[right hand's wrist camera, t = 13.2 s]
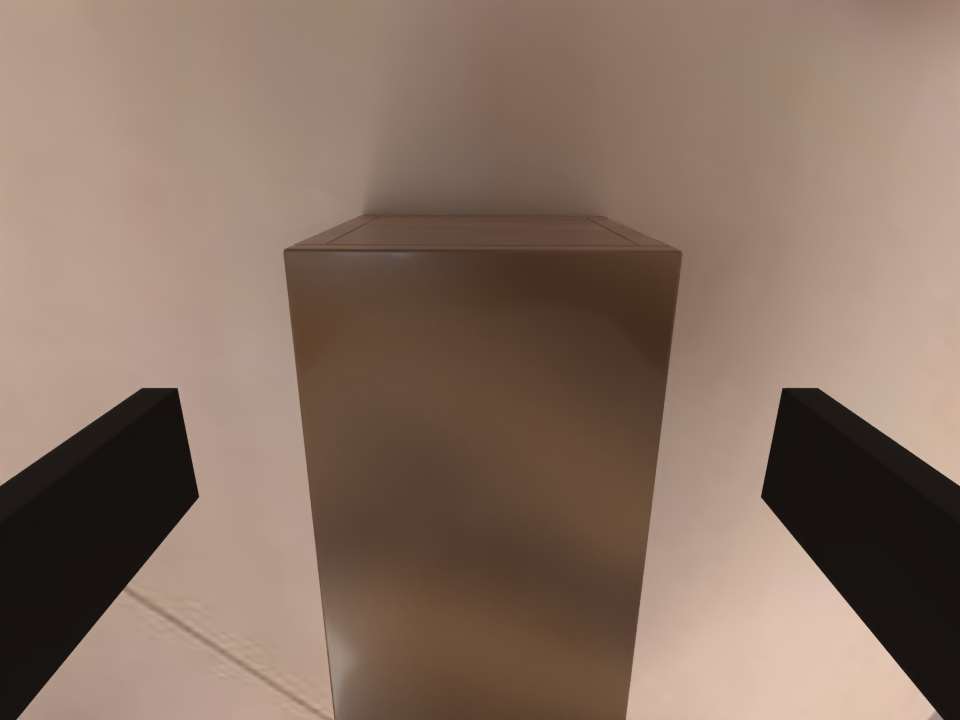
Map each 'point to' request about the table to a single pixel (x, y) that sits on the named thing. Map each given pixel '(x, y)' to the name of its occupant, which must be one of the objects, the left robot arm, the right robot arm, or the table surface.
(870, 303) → the table surface
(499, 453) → the cabinet
